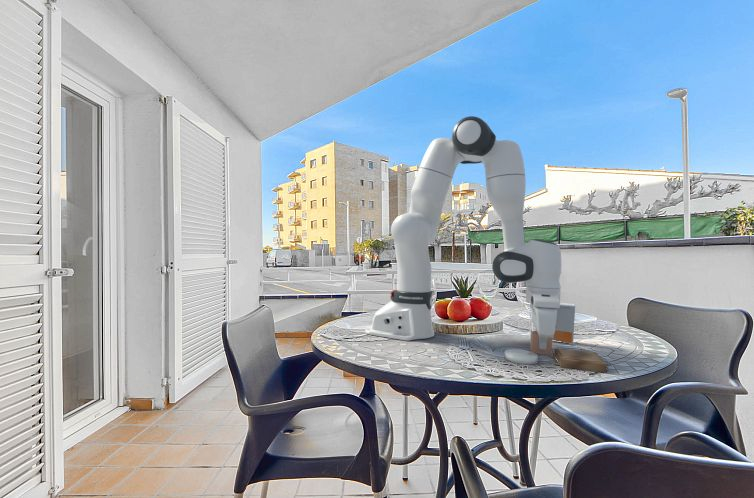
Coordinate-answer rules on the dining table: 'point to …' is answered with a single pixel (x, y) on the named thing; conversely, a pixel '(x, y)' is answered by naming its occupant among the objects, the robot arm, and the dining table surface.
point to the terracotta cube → (535, 344)
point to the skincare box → (565, 323)
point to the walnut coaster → (580, 360)
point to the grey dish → (521, 356)
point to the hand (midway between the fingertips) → (540, 345)
